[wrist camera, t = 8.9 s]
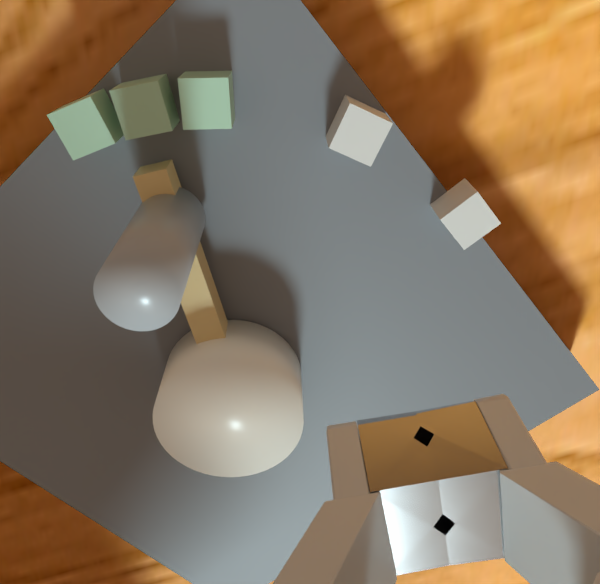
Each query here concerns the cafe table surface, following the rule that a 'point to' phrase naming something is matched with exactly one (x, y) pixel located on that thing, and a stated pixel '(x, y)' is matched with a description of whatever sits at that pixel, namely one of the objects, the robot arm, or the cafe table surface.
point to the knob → (200, 340)
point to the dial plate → (248, 282)
